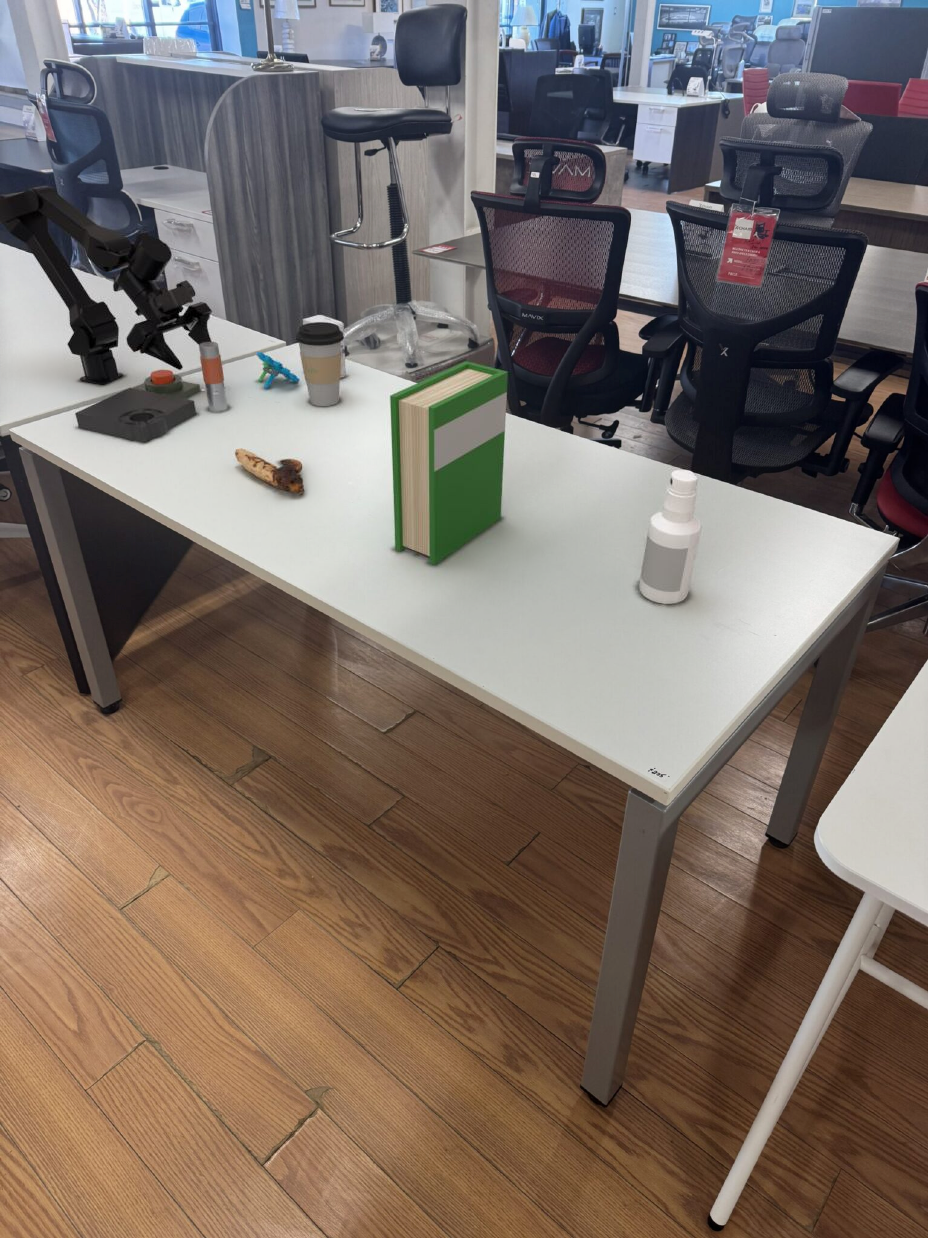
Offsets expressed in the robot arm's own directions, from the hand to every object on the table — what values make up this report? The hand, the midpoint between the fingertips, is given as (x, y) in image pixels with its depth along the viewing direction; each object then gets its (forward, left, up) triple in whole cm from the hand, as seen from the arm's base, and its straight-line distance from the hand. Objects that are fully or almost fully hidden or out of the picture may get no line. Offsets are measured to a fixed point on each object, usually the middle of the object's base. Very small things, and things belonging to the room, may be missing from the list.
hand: (198, 361), depth 167 cm
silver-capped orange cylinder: (+4, 0, -9) cm, 10 cm away
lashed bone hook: (+32, -21, -9) cm, 39 cm away
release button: (-11, +2, -6) cm, 13 cm away
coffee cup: (+21, +13, -9) cm, 26 cm away
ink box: (+13, +27, -9) cm, 31 cm away
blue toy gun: (+7, +17, -9) cm, 20 cm away
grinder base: (-6, -12, -9) cm, 17 cm away
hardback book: (+67, -26, -9) cm, 72 cm away
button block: (-11, +2, -9) cm, 15 cm away
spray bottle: (+101, -28, -9) cm, 105 cm away
